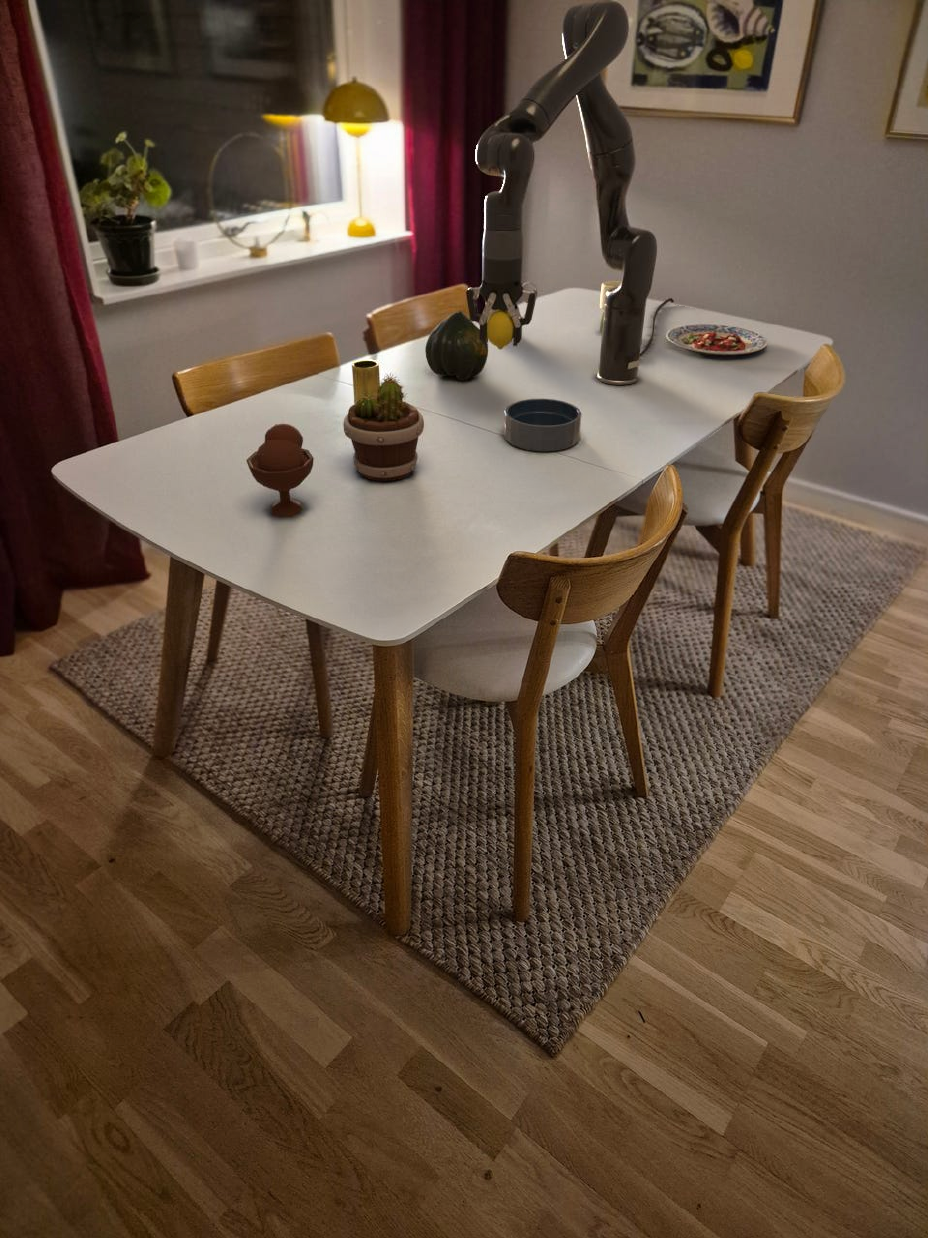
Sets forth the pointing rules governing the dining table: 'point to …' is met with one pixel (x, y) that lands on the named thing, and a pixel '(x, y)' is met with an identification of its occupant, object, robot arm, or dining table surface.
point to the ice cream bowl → (282, 466)
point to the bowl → (542, 424)
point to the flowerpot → (384, 433)
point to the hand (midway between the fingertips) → (500, 343)
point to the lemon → (500, 328)
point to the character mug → (604, 289)
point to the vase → (365, 378)
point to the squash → (456, 348)
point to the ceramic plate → (716, 339)
